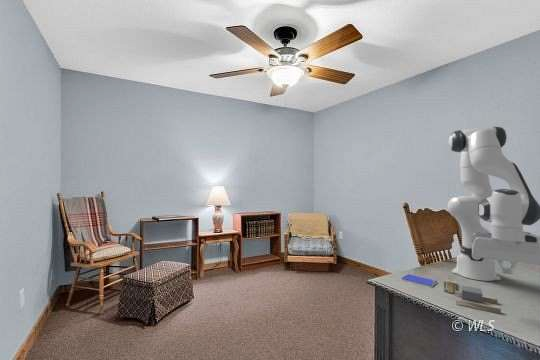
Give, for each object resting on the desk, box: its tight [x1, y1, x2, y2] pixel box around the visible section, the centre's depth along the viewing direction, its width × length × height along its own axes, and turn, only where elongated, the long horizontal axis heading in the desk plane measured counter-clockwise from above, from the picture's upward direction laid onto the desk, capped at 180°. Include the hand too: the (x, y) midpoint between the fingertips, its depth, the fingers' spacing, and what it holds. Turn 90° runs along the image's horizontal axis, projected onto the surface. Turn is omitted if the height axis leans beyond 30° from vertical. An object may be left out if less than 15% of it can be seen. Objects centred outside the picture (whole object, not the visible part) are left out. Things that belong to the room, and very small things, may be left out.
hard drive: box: [401, 273, 438, 288], centre depth 127 cm, size 2×8×12 cm
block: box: [461, 285, 483, 304], centre depth 105 cm, size 6×6×5 cm
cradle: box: [443, 279, 502, 314], centre depth 106 cm, size 14×17×4 cm
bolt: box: [446, 275, 454, 294], centre depth 120 cm, size 14×2×3 cm, turn 146°
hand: (506, 273), depth 99 cm, fingers closed
